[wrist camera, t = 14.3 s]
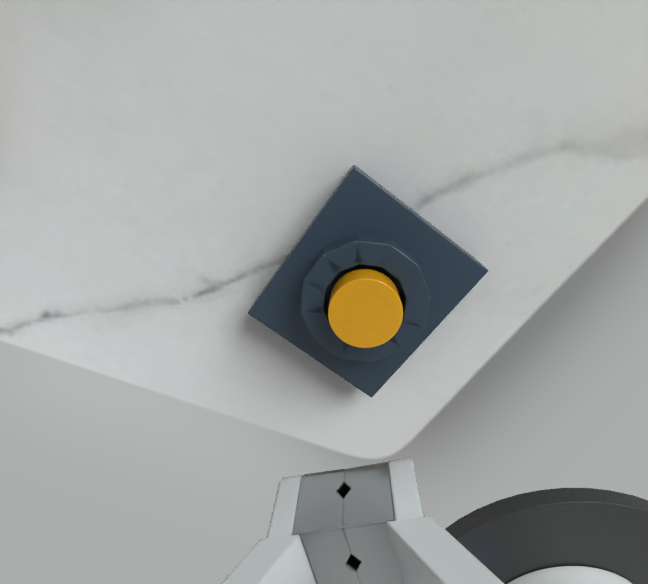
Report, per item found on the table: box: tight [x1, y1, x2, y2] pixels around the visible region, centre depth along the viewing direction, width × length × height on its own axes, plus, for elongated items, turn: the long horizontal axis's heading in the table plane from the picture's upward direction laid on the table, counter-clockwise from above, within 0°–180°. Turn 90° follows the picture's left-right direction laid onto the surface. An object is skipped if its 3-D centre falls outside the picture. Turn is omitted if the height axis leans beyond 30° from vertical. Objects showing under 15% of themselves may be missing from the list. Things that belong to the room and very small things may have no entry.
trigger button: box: [328, 269, 403, 348], centre depth 21 cm, size 4×4×2 cm
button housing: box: [248, 165, 488, 397], centre depth 23 cm, size 10×9×4 cm
